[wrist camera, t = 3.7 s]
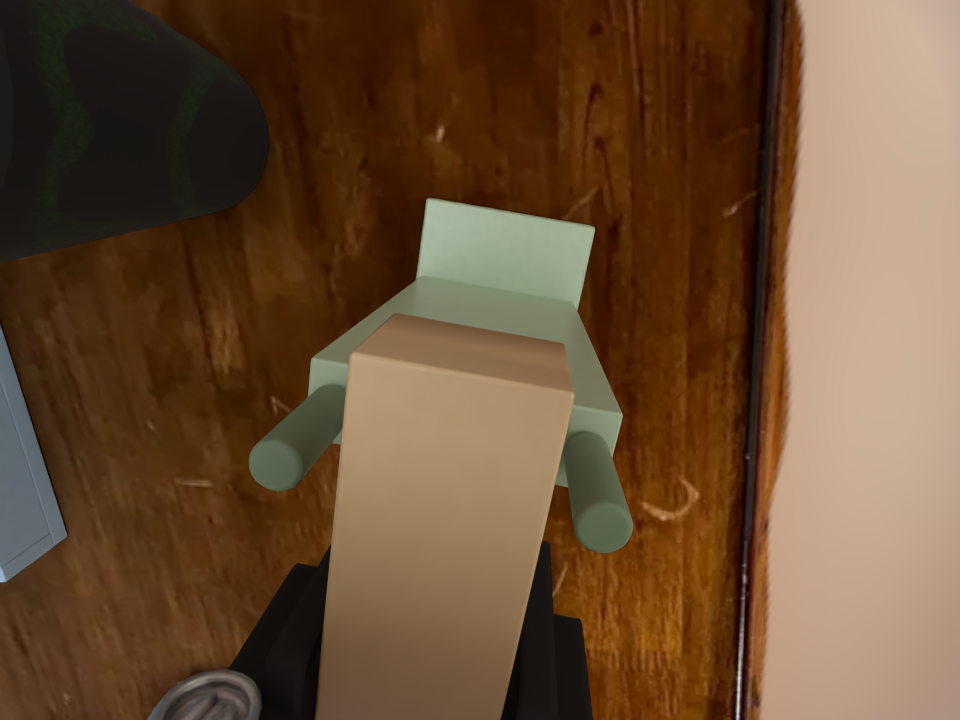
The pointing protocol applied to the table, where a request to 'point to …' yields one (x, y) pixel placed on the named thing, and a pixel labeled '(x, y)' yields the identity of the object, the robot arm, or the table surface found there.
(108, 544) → the table surface
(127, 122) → the cup
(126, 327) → the table surface
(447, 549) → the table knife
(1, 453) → the tray
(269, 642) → the robot arm
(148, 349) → the table surface
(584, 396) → the rack
